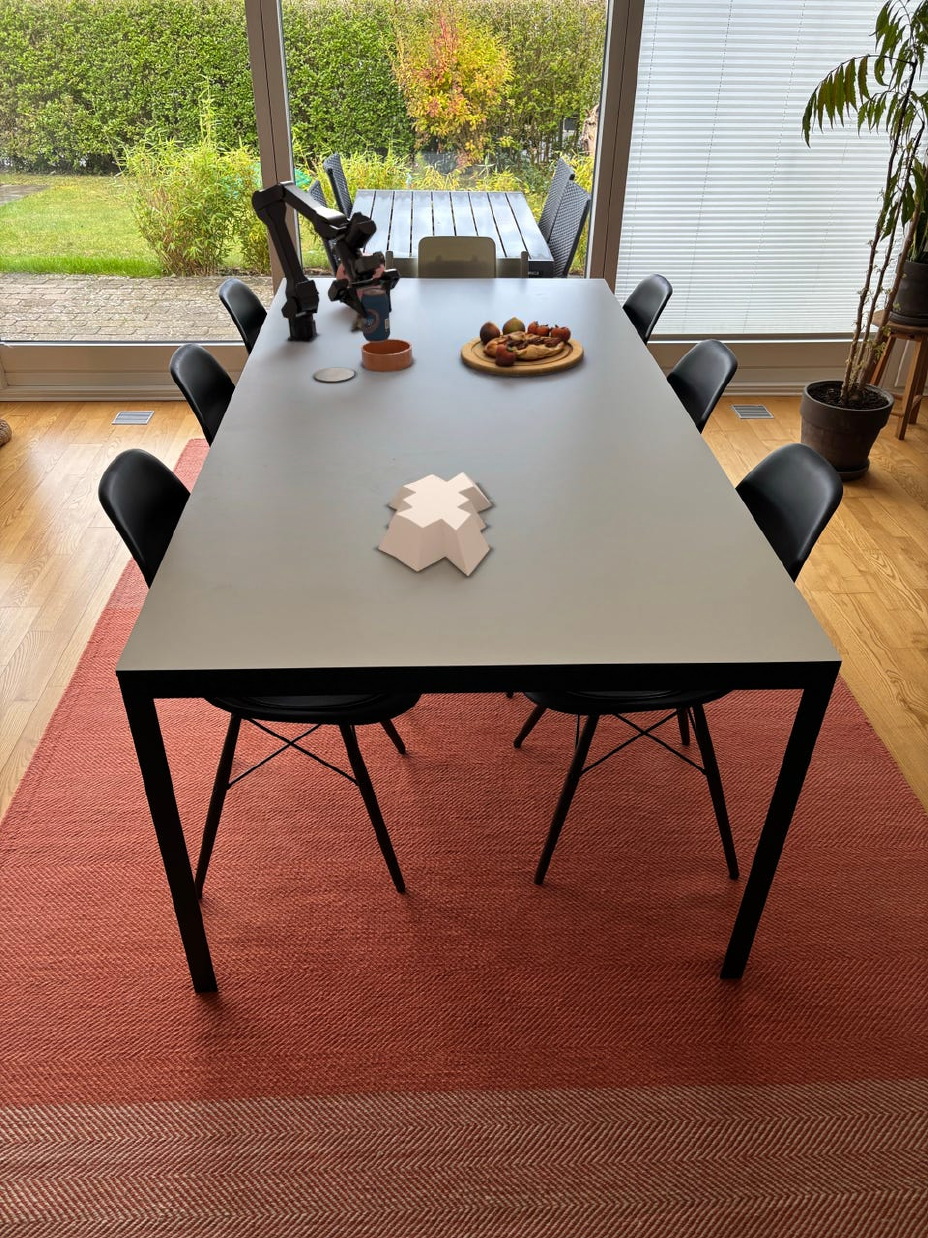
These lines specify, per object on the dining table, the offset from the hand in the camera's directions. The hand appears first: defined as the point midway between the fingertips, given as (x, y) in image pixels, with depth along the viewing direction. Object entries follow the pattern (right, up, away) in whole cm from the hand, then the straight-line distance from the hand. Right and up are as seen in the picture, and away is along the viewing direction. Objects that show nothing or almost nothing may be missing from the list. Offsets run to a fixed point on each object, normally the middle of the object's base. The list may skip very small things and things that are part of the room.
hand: (378, 314), depth 246 cm
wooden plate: (+37, -8, +10) cm, 39 cm away
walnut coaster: (-11, -15, +2) cm, 19 cm away
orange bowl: (+2, -10, +9) cm, 13 cm away
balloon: (-9, +17, +51) cm, 54 cm away
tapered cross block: (+17, -59, -66) cm, 90 cm away
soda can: (-1, -5, +5) cm, 7 cm away
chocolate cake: (-6, +8, +36) cm, 38 cm away
